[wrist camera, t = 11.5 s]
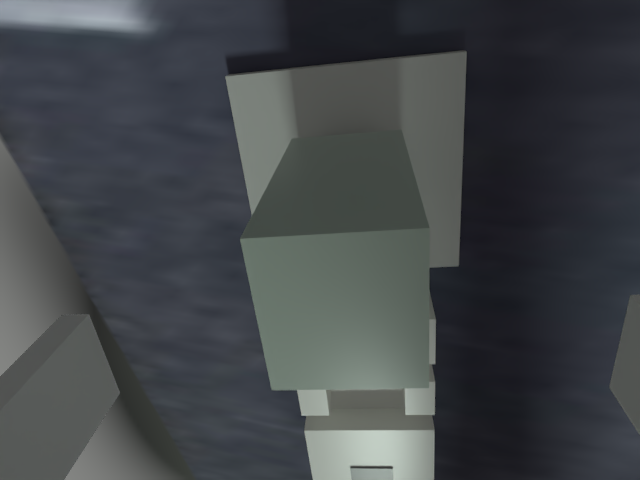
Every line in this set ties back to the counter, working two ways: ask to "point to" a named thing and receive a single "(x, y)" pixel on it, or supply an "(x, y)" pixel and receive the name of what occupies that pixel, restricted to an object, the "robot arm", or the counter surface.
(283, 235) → the block
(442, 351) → the counter surface
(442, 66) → the mat
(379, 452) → the power strip
